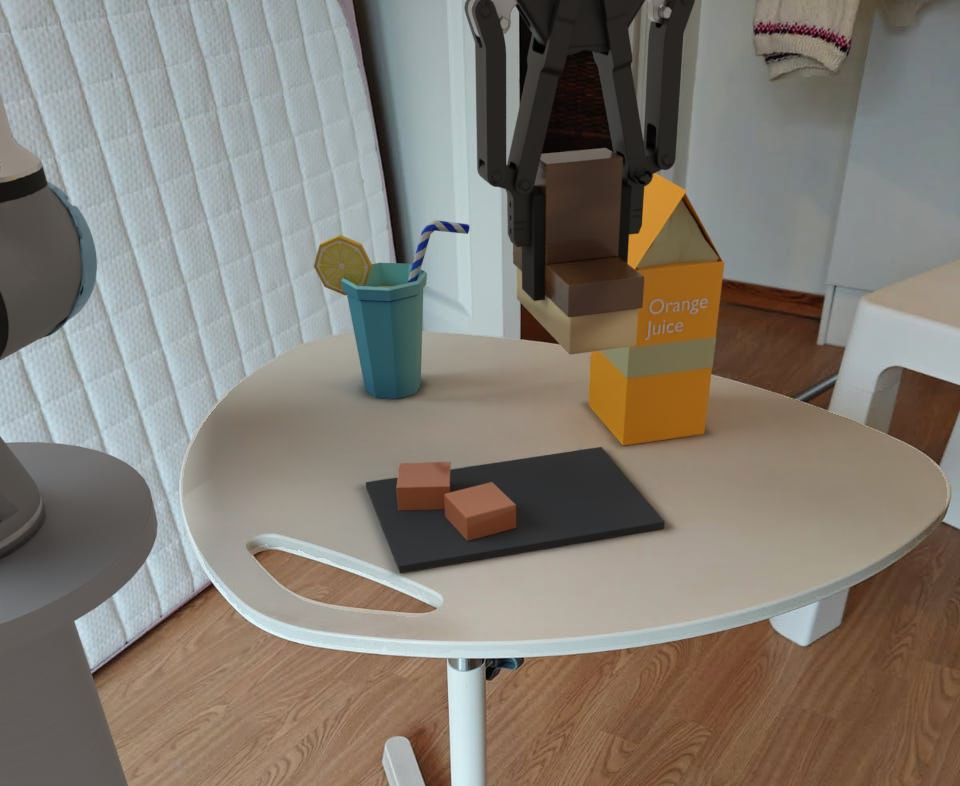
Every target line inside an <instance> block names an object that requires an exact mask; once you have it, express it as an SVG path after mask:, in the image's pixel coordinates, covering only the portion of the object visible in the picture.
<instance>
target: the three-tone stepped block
mask: <svg viewBox="0 0 960 786" xmlns="http://www.w3.org/2000/svg"><path fill="white" fill-rule="evenodd" d="M622 166H623V157H621V156H620V155H618V154H616V153H614V151H612V150H610V149H608V148H607V147H601V148H592V149H591V148H590V149H580V150H579V149H577V150H567V151H559V152H549V153H547V152H546V153H542V154H541V158H540V162H539V167H538V171H537V176H536V180H535V184H534V187H535V188H536V189H538V190H539V191H540V192H542V193H543V194H544V195H545V300H539V301H534V300H533V299H532V298H531V297H530V296H529V295H528V294H527V293H526V292H525V291H524V290H523V289H522V247H516V246H515V245H514V244H513V243H512V263H513V265H514V266H515V267H516V299H517V301H518V302H519V303H520V304H521V305H522V306H523V307H524V308H525V309H526V310H527V311H528V312H529V314H530V315H532V316H533V318H534V319H535V320H536V321H537V322H539V324H540V325H541V326H542V327H543V329H545V330H546V331H547V333H548V334H550V335H551V337H552V338H553V339H554V340H555V341H556V342H557V343H558V344H559V345H560V346H561V347H562V348H563V349H564V351H565V352H566V353H567V354H568V355H576V354H577V355H578V354H585V353H591V352H593V351H600V350H608V349H615V348H623V347H630V346H636V336H637V320H638V309H639V308H642V307H643V293H644V278H645V277H644V276H643V275H642V274H640V273H639V272H638V271H636V270H635V269H634V268H632V267H631V266H630V265H628V264H627V263H626V262H624V261H623V260H622V259H620V258H619V257H618V247H619V227H620V206H621V186H622Z"/></svg>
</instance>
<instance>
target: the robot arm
mask: <svg viewBox="0 0 960 786" xmlns="http://www.w3.org/2000/svg"><path fill="white" fill-rule="evenodd" d="M695 1H696V0H466V1H465V2H464V7H463V8H464V13H465V16H466V19H467V23H468V25H469V28H470V33H471V35H472V38H473V41H474V55H475V56H474V57H475V58H474V61H475V65H474V67H475V116H476V117H475V121H476V126H475V127H476V169H477V174H478V175H479V176H480V178H481V179H482V180H484V182H486V183H487V184H489V185H490V186H492V187H493V188H500V189H504V190H505V192H506V207H507V209H506V210H507V213H506V214H507V215H506V216H507V236H508V238H509V241H510V243H512V245H513V244H514V245H515V246H516V247H522V289H523V290H524V291H525V292H526V293H527V294H528V295H529V296H530V297H531V298H532V299H533V300H534V301H539V300H545V195H544V194H543V193H542V192H540V191H539V190H538V189H536V188H535V187H534V184H535V180H536V176H537V171H538V167H539V162H540V158H541V154H543V150H544V149H543V148H544V144H545V140H546V137H547V136H546V135H547V131H548V127H549V123H550V118H551V114H552V109H553V106H554V105H553V104H554V101H555V96H556V92H557V87H558V83H559V79H560V77H561V75H562V74H563V71H564V69H565V66H566V61H567V57H568V56H573V55H575V54H576V55H577V54H579V53H580V52H583V51H588V52H592V56H593V61H594V62H595V64H596V66H597V69H598V75H599V80H600V84H601V91H602V97H603V102H604V108H605V113H606V119H607V123H608V129H609V135H610V140H611V145H612V150H613V151H612V152H614V153H616V154H618V155H620V156H621V157H623V166H622V186H621V206H620V227H619V247H618V257H619V258H620V259H622V260H623V261H624V262H626V263H627V264H628V246H629V235H630V234H639V231H640V229H641V227H642V215H643V201H644V186H647V185H648V184H649V183H650V182H651V181H652V178H653V174H654V173H656V174H657V173H658V172H660V171H668V170H670V169H671V168H673V167H674V165H675V163H676V158H677V157H676V156H677V143H678V127H679V126H678V125H679V112H680V111H679V110H680V95H681V82H682V81H681V79H682V67H683V50H684V49H683V48H684V35H685V34H684V33H685V31H686V28H687V25H688V22H689V20H690V16H691V14H692V11H693V8H694V5H695ZM645 2H647V9H646V15H647V19H649V21H650V26H649V30H648V41H647V61H646V62H647V63H646V81H645V82H646V83H645V101H644V102H645V105H644V124H643V125H644V126H643V130H642V124H641V118H640V113H639V105H638V99H637V94H636V93H637V92H636V87H635V82H634V81H635V80H634V76H633V69H632V64H633V51H632V45H631V38H630V33H629V28H630V26H631V25H632V24H633V21H634V20H635V18H636V17H637V15H638V13H639V11H640V10H641V8H642V6H643V5H644V3H645ZM514 8H516V10H517V11H518V13H519V14H520V16H521V17H522V19H523V21H524V23H525V24H526V26H527V28H528V29H529V31H530V32H531V38H530V42H529V47H528V52H527V58H526V62H527V63H526V64H527V70H526V74H525V79H524V82H523V83H524V84H523V89H522V93H521V97H520V101H519V107H518V111H517V116H516V122H515V127H514V131H513V135H512V140H511V145H510V149H509V154H508V157H507V46H506V39H505V36H504V35H506V33H508V31H509V30H510V28H511V25H512V24H511V23H512V21H511V13H512V11H513V9H514ZM11 128H12V127H11V124H10V121H9V117H8V114H7V111H6V108H5V104H4V101H3V96H2V94H1V93H0V361H2V360H4V359H6V358H7V357H9V356H11V355H13V354H15V353H17V352H18V351H20V350H22V349H24V348H26V347H28V346H29V345H31V344H33V343H35V342H36V341H38V340H41V339H44V338H47V337H49V336H51V335H53V334H55V333H56V332H58V331H59V330H60V329H61V328H62V327H64V326H65V325H66V324H67V322H68V321H70V320H71V319H73V318H74V317H76V316H77V315H78V314H79V313H80V312H81V311H82V310H83V308H84V307H85V306H86V304H87V303H88V301H89V300H90V298H91V296H92V294H93V291H94V288H95V285H96V280H97V274H98V258H97V250H96V245H95V242H94V238H93V234H92V232H91V229H90V227H89V224H88V222H87V220H86V218H85V217H84V215H83V213H82V211H81V209H79V207H78V206H77V205H72V204H71V203H70V202H69V201H68V199H69V196H68V195H67V194H66V192H64V191H63V190H62V189H61V188H60V187H58V186H57V185H56V184H53V183H52V182H50V181H48V179H47V176H46V173H45V169H44V166H43V162H42V160H41V158H40V157H39V156H38V155H36V154H34V153H33V152H32V151H30V150H29V149H28V148H27V147H25V146H24V145H22V144H21V143H20V142H18V140H17V139H16V138H15V137H14V135H13V132H12V131H13V130H12V129H11ZM507 158H508V159H507ZM6 443H7V442H5V440H4V438H2V436H1V435H0V559H1V558H3V557H5V556H7V555H8V554H10V553H12V552H13V551H15V550H17V549H18V548H20V547H21V546H22V545H24V544H25V543H26V542H27V541H29V540H30V539H31V538H32V537H33V536H34V535H35V534H36V533H37V531H38V530H39V529H40V527H41V526H42V524H43V522H44V520H45V515H46V510H45V506H44V503H43V500H42V497H41V493H40V491H39V489H38V487H37V485H36V484H35V482H34V480H33V479H32V477H31V476H30V474H29V473H28V472H27V471H26V469H25V468H24V467H23V465H22V464H21V463H20V461H19V460H18V459H17V457H16V456H15V455H14V453H13V452H12V451H11V450H10V448H9V447H8V446H7V444H6Z"/></svg>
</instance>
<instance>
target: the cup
mask: <svg viewBox="0 0 960 786" xmlns="http://www.w3.org/2000/svg"><path fill="white" fill-rule="evenodd" d="M470 228H471V227H470V224H469V223H462V222H453V221H445V220H438V219H433V220H432V221H431V222H429V223H428V224H426V226H425V227H424V228H423V229H422V231H421V233H420V237H419V239H418V244H417V246H416V250H415V251H416V252H415V255H414V258H413V262H412V264H410V263H401V262H376V263H372V262H371V260H370V257H369V255H368V254H367V252H366V250H365V248H364V245H363V244H362V243H360V242H358V241H356V240H355V239H354V240H353V239H352V238H349V237H347V236H344V235H342V234H339V235H337V236H334V237H332V238H329V239H328V240H325V241H322V242H321V243H319V245H318V249H317V253H316V256H315V260H314V263H313V268H314V270H315V272H316V273H317V275H318V277H319V279H320V281H321V283H322V285H323V287H324V288H326V289H328V290H331V291H334V292H336V293H337V294H341V295H343V296H346V298H347V302H348V307H349V313H350V318H351V323H352V328H353V329H352V330H353V333H354V339H355V345H356V348H357V349H356V350H357V355H358V359H359V365H360V369H361V374H362V378H363V379H362V380H363V385H364V389H365V392H367V393H368V394H369V395H371V396H373V397H374V398H375V399H389V400H399V399H401V398H406V397H409V396H412V395H416V393H418V391H419V389H420V388H421V385H422V357H423V356H422V352H423V351H422V350H423V318H424V317H423V314H424V288H425V287H426V285H427V280H428V278H427V277H428V273H427V272H426V271H425V270H423V269H422V266H423V262H424V259H425V254H426V251H427V249H428V245H429V241H430V239H431V235H432V234H433V233H434V232H435V231H436V232H443V233H452V234H453V233H454V234H465V235H468V234H469V232H470Z"/></svg>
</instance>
